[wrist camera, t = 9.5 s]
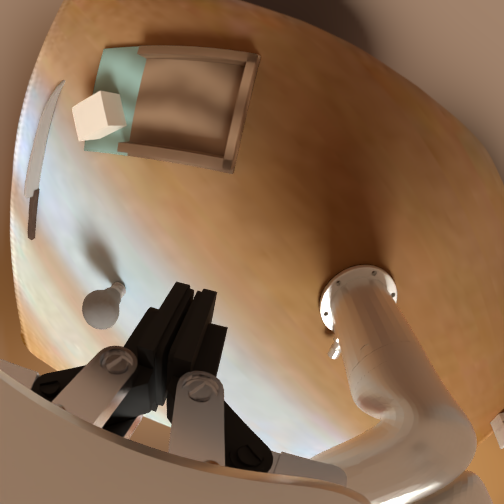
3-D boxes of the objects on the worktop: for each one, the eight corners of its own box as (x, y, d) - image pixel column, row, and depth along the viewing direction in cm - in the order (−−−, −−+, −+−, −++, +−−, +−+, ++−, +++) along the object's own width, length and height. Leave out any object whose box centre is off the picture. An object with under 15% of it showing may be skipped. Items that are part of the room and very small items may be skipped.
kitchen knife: (24, 244, 39) (51, 77, 27) (21, 242, 39) (47, 76, 27) (38, 236, 43) (68, 78, 30) (34, 233, 42) (64, 78, 30)
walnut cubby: (233, 173, 35) (228, 177, 32) (87, 149, 35) (71, 152, 31) (260, 57, 29) (259, 48, 25) (107, 50, 29) (92, 44, 25)
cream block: (127, 125, 32) (107, 125, 28) (99, 139, 33) (78, 141, 29) (119, 94, 31) (100, 90, 26) (92, 108, 31) (71, 107, 27)
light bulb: (116, 305, 45) (89, 339, 36) (100, 276, 43) (68, 306, 34) (141, 298, 44) (115, 335, 35) (125, 267, 42) (93, 299, 33)
